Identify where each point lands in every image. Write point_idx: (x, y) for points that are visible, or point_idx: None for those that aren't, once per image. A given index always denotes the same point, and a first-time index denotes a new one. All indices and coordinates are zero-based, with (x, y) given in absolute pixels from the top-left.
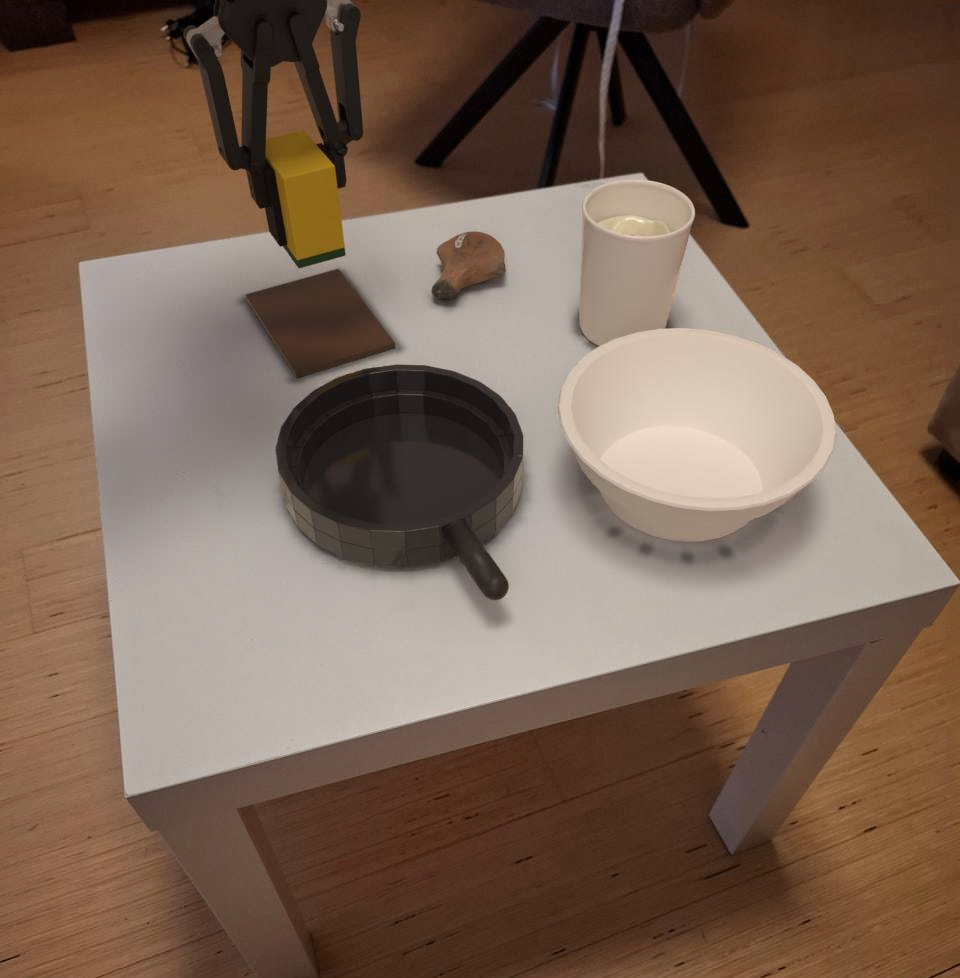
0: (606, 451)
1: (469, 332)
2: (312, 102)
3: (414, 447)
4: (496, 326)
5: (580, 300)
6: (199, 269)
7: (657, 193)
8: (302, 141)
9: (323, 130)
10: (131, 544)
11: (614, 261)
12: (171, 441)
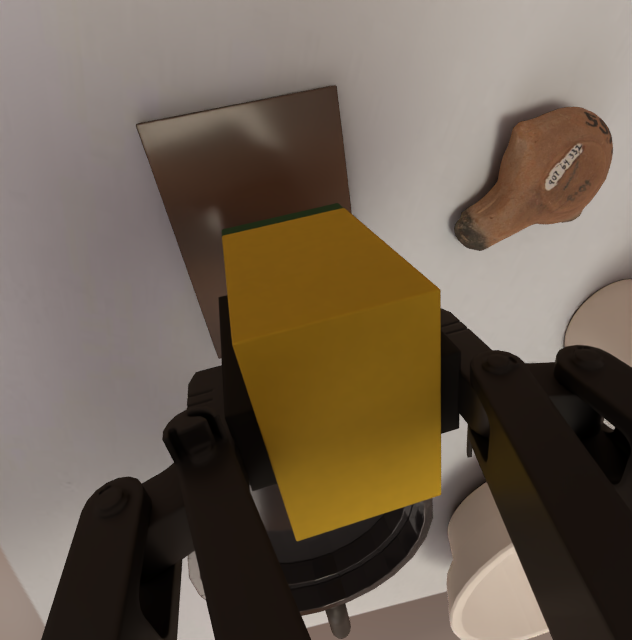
0: (479, 487)
1: (459, 301)
2: (535, 556)
3: None
4: (493, 296)
5: (599, 339)
6: None
7: None
8: (406, 371)
9: (489, 471)
10: (25, 556)
11: None
12: (42, 440)
